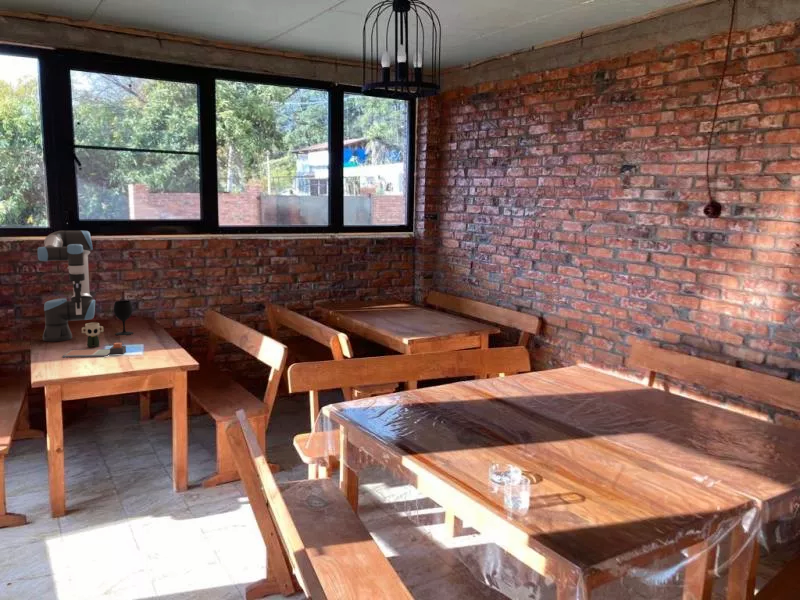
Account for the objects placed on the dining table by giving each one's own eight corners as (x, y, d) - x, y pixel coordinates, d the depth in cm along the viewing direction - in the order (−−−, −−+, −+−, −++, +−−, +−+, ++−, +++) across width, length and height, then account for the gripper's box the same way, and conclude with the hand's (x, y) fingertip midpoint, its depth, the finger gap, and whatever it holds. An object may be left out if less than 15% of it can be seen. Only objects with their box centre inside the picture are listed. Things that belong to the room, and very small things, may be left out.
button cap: (115, 348, 343) (115, 342, 342) (122, 348, 343) (121, 342, 343) (113, 349, 339) (113, 344, 339) (120, 349, 340) (120, 344, 339)
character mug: (82, 348, 351) (81, 325, 349) (82, 346, 357) (81, 323, 355) (104, 347, 356) (103, 324, 354) (104, 344, 362) (102, 321, 360)
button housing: (113, 352, 344) (113, 345, 344) (126, 351, 345) (125, 345, 345) (110, 354, 338) (109, 348, 337) (122, 354, 339) (122, 348, 338)
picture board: (71, 351, 345) (71, 349, 345) (114, 350, 348) (114, 348, 348) (61, 357, 330) (61, 356, 330) (107, 356, 334) (107, 355, 334)
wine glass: (124, 336, 384) (123, 303, 381) (111, 334, 388) (109, 302, 385) (137, 333, 394) (135, 301, 391) (124, 331, 397) (122, 299, 394)
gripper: (69, 270, 351) (71, 308, 354) (68, 276, 329) (70, 316, 332) (84, 270, 354) (86, 308, 357) (84, 275, 332) (86, 315, 335)
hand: (78, 312), depth 345 cm, fingers open, 13 cm apart
